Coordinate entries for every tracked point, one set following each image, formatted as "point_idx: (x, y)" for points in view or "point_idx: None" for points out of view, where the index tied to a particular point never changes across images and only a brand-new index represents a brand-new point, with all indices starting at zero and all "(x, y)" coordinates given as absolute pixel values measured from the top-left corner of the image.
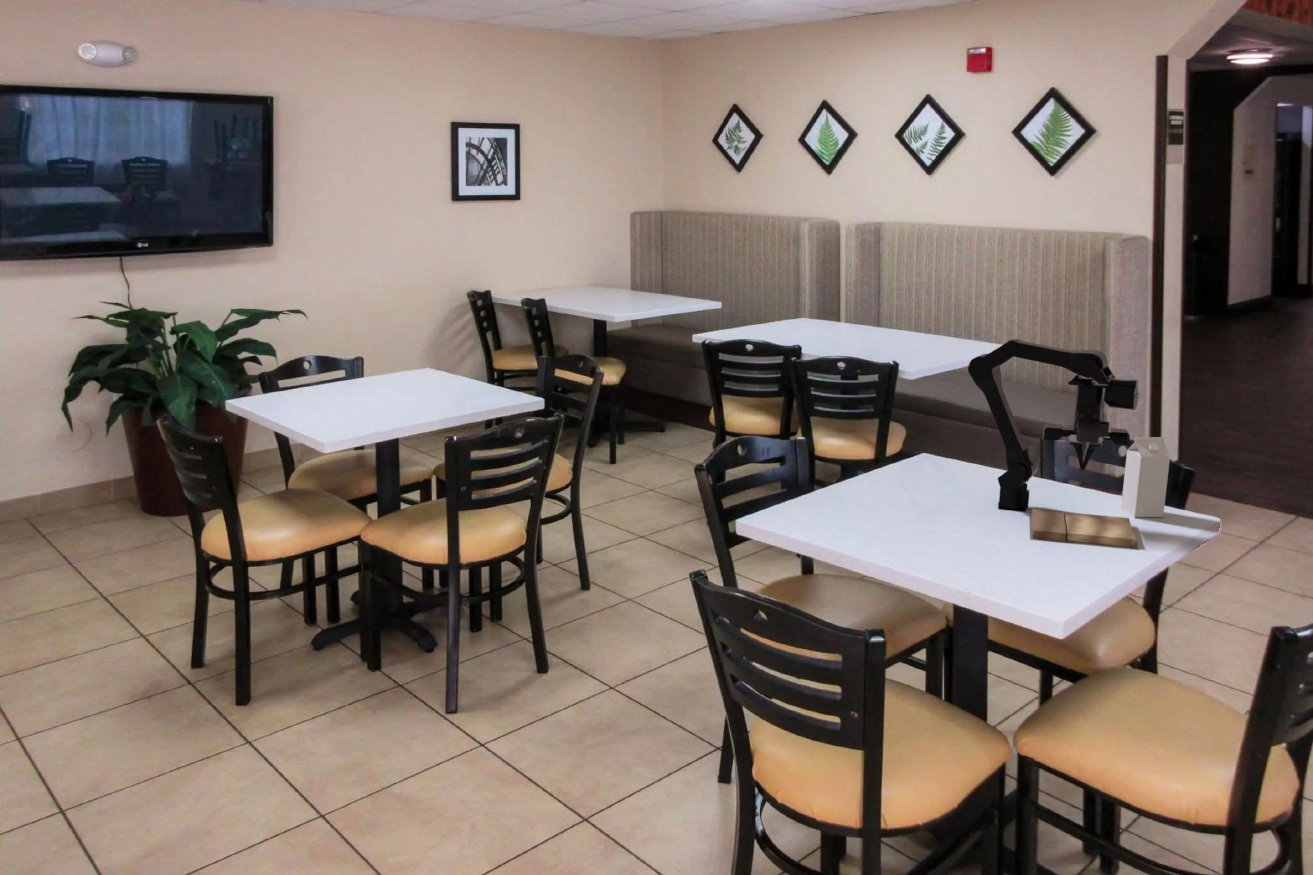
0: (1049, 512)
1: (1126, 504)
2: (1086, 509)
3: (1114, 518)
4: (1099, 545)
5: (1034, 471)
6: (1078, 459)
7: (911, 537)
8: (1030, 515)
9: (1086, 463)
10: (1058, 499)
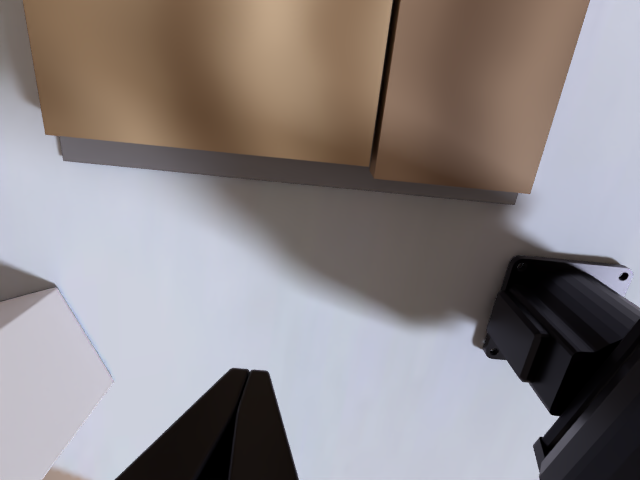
0: (454, 139)
1: (77, 371)
2: (243, 357)
3: (116, 104)
4: None
5: (620, 423)
6: (294, 468)
7: None
8: (511, 198)
9: (189, 418)
10: (332, 450)
